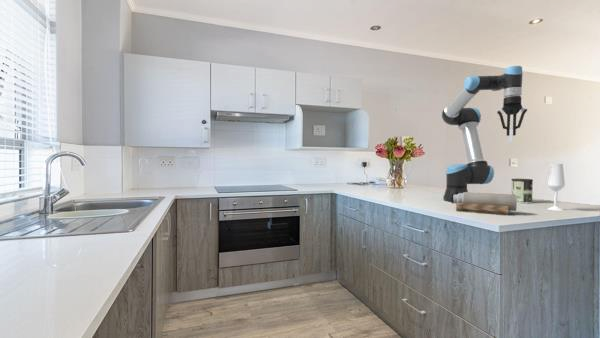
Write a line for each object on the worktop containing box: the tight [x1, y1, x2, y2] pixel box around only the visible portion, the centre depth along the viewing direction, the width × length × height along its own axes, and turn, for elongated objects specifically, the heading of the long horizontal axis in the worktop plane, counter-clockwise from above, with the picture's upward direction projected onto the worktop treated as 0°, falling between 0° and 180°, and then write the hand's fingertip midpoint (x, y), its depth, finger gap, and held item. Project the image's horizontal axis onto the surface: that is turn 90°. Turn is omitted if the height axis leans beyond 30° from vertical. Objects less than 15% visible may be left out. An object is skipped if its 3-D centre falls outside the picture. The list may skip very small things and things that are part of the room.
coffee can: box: [511, 178, 534, 204], centre depth 174 cm, size 10×10×14 cm
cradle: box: [455, 203, 510, 216], centre depth 150 cm, size 22×18×4 cm
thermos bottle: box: [450, 191, 518, 212], centre depth 147 cm, size 8×8×28 cm
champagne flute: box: [547, 163, 566, 212], centre depth 148 cm, size 7×7×24 cm
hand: (510, 141), depth 151 cm, fingers closed
